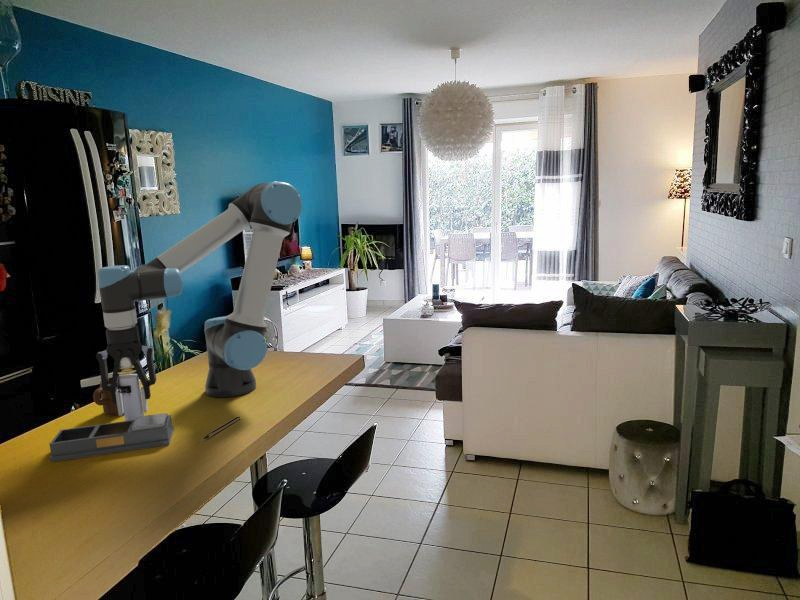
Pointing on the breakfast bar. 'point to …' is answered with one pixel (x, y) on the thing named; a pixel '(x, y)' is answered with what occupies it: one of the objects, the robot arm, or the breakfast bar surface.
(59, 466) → the breakfast bar surface
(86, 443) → the rack
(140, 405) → the perfume bottle
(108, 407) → the mug
